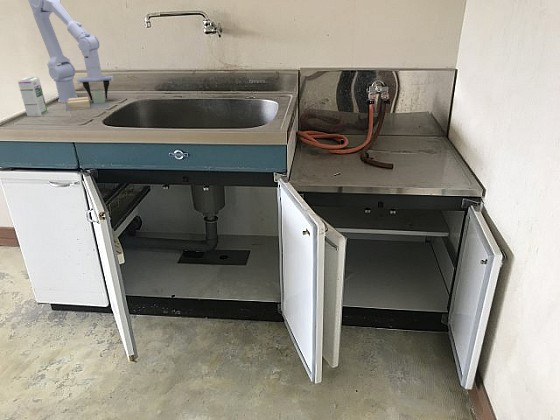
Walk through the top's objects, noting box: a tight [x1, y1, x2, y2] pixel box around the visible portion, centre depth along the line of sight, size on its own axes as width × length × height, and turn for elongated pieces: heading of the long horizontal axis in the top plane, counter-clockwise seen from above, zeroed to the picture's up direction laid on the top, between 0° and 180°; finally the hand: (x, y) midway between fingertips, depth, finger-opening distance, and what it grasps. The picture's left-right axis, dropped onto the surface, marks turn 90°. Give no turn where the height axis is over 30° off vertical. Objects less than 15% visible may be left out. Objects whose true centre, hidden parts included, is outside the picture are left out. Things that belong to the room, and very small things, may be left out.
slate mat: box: [65, 99, 110, 112], centre depth 200 cm, size 14×17×1 cm
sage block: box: [91, 88, 106, 103], centre depth 204 cm, size 4×4×5 cm
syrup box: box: [17, 76, 48, 117], centre depth 186 cm, size 6×6×14 cm
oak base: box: [67, 96, 91, 111], centre depth 197 cm, size 8×8×3 cm
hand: (99, 99), depth 205 cm, fingers open, 5 cm apart
